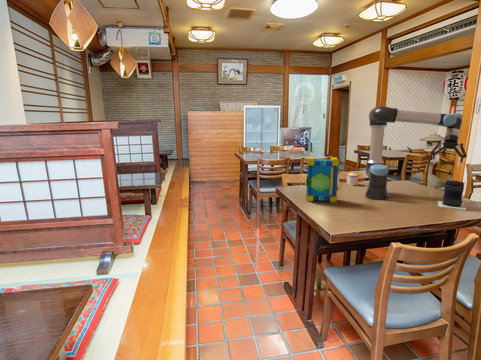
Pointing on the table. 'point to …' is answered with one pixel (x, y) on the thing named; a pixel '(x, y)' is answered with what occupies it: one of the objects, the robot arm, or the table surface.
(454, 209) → the placemat
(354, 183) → the teacup with lid
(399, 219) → the table surface
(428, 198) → the table surface
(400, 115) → the robot arm
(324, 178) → the decorative book
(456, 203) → the rusty oil drum
